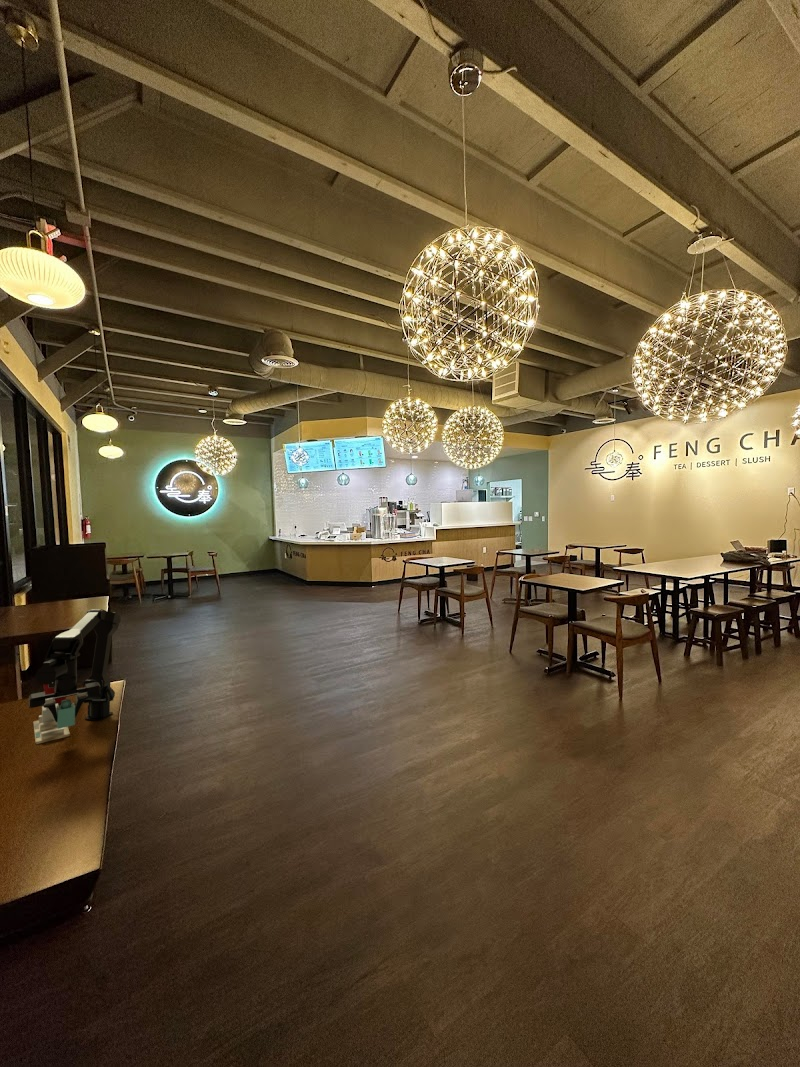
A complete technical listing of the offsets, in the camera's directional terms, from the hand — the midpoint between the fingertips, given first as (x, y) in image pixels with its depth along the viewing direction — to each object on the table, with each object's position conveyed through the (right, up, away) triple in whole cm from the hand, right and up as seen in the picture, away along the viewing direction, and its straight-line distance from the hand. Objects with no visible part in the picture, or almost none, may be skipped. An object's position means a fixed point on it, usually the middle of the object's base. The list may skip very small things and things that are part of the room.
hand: (65, 719), depth 144 cm
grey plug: (-15, -7, +12) cm, 21 cm away
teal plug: (0, -2, 0) cm, 2 cm away
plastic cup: (-29, -7, +32) cm, 43 cm away
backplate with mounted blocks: (-13, -8, +9) cm, 17 cm away
